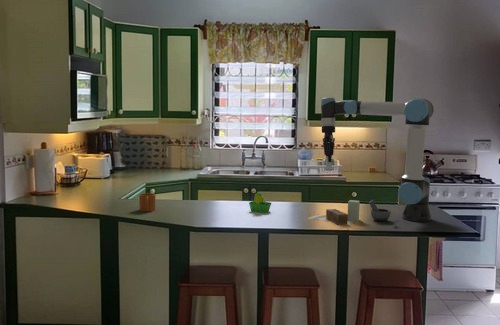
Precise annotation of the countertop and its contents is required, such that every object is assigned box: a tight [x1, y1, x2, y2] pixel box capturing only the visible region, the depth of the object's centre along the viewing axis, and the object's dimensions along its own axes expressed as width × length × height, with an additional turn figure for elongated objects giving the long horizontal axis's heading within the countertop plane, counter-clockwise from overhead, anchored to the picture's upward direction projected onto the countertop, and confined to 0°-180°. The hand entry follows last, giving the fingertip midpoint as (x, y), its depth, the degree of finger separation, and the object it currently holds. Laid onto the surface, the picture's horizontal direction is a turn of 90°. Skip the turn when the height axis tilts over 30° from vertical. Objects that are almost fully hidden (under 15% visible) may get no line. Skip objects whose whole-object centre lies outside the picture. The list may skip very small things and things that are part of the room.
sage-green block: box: [347, 199, 361, 223], centre depth 275 cm, size 5×5×10 cm
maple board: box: [306, 213, 361, 226], centre depth 277 cm, size 24×14×2 cm, turn 58°
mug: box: [138, 192, 156, 213], centre depth 296 cm, size 9×12×9 cm
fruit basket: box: [248, 192, 272, 214], centre depth 300 cm, size 11×9×11 cm
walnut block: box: [325, 208, 348, 225], centre depth 272 cm, size 5×5×14 cm
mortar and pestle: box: [368, 199, 392, 223], centre depth 276 cm, size 11×9×12 cm
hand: (329, 167), depth 298 cm, fingers closed
